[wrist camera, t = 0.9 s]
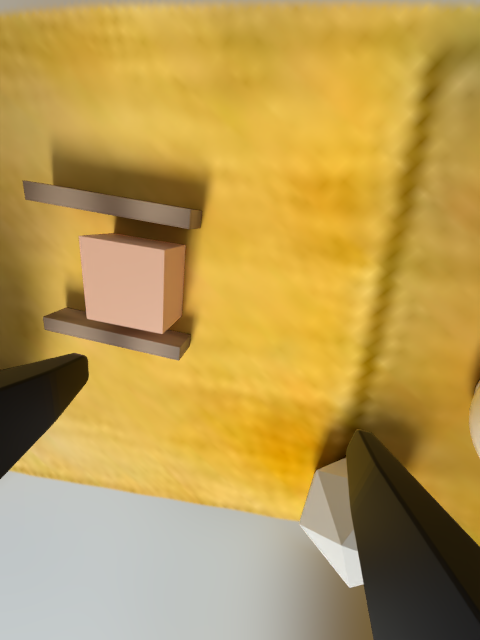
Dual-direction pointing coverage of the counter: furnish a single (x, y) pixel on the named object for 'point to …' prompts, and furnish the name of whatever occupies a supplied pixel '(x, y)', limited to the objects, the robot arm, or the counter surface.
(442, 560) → the robot arm
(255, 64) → the counter surface
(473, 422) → the lidded bowl
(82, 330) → the corridor rails
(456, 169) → the counter surface
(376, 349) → the counter surface
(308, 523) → the die
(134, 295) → the block
